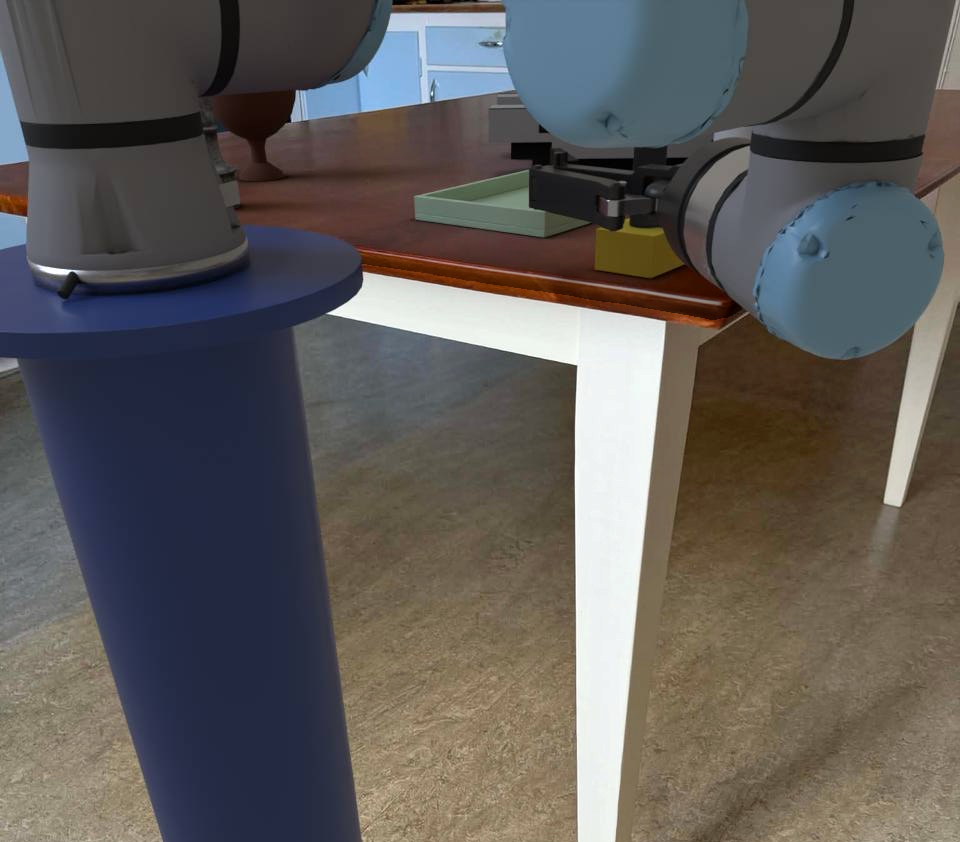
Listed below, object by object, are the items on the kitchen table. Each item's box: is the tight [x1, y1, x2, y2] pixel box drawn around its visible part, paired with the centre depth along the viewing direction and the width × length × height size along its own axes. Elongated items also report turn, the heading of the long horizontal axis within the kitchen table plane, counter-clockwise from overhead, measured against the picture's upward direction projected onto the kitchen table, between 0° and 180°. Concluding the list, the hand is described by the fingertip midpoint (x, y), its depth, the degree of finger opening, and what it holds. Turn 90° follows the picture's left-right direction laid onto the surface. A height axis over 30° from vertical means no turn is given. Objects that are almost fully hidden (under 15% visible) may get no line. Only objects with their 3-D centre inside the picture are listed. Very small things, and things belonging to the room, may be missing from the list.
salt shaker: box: [198, 96, 241, 210], centre depth 95 cm, size 6×6×12 cm
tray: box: [413, 169, 592, 239], centre depth 93 cm, size 21×15×2 cm
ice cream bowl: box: [210, 90, 297, 182], centre depth 110 cm, size 11×11×15 cm
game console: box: [487, 92, 714, 171], centre depth 115 cm, size 21×32×8 cm, turn 86°
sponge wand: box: [594, 145, 685, 279], centre depth 69 cm, size 6×5×14 cm
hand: (643, 164), depth 71 cm, fingers open, 13 cm apart
